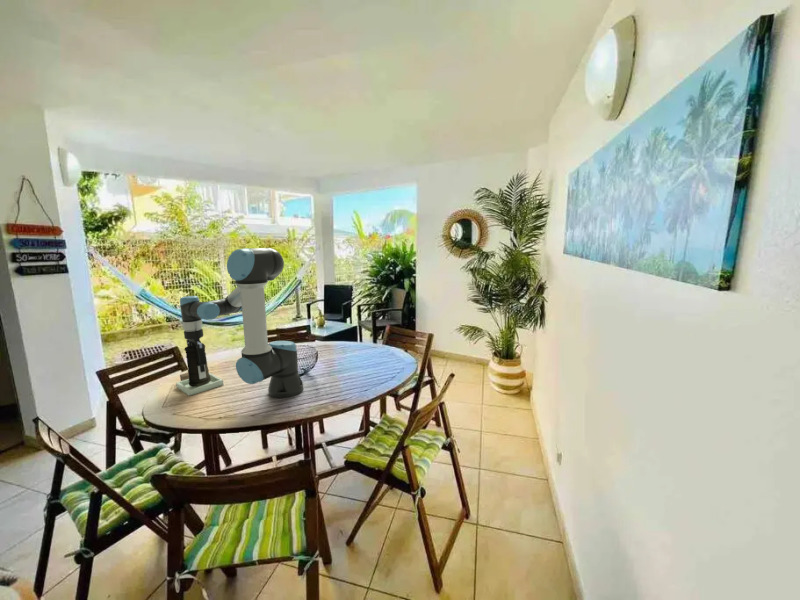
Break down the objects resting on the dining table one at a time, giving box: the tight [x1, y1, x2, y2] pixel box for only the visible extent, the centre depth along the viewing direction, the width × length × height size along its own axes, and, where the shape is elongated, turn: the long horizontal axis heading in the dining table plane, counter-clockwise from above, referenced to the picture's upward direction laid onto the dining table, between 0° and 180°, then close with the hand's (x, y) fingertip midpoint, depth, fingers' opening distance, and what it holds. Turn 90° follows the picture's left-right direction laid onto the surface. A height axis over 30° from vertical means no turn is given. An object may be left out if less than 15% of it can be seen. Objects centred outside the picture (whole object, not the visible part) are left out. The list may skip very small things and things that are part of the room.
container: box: [183, 344, 211, 386], centre depth 158 cm, size 9×9×18 cm
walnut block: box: [179, 371, 189, 381], centre depth 165 cm, size 4×4×4 cm
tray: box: [175, 372, 224, 397], centre depth 159 cm, size 15×15×2 cm
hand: (199, 375), depth 159 cm, fingers closed on container, 8 cm apart
